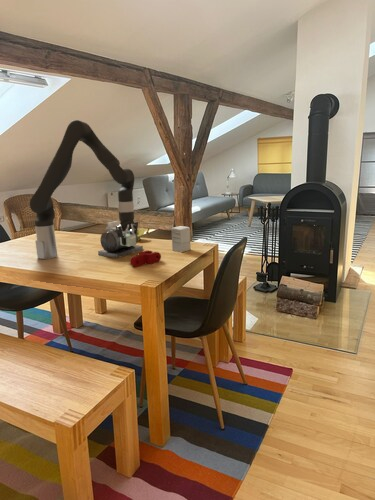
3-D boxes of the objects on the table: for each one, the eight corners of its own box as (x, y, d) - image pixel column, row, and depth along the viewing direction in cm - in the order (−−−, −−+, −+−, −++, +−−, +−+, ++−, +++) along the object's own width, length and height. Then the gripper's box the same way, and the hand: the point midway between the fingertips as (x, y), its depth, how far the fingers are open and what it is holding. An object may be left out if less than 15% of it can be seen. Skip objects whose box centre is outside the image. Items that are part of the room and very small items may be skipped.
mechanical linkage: (151, 258, 197) (150, 249, 195) (161, 261, 192) (160, 251, 191) (127, 266, 185) (126, 256, 184) (137, 269, 180) (136, 258, 179)
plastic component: (112, 240, 229) (110, 230, 236) (113, 249, 234) (112, 239, 241) (145, 235, 232) (142, 225, 240) (146, 244, 237) (143, 235, 244)
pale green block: (130, 246, 191) (129, 236, 189) (119, 244, 195) (118, 235, 194) (137, 244, 195) (136, 235, 193) (126, 242, 199) (125, 233, 198)
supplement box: (181, 247, 216) (180, 225, 213) (191, 249, 211) (190, 227, 208) (171, 250, 211) (170, 227, 208) (181, 252, 206) (180, 229, 203)
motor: (117, 258, 199) (114, 226, 195) (98, 254, 207) (95, 224, 203) (142, 249, 215) (141, 220, 211) (124, 246, 223) (122, 218, 219)
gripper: (130, 207, 198) (132, 240, 202) (110, 211, 187) (112, 245, 191) (141, 208, 194) (143, 241, 198) (121, 213, 183) (123, 247, 187)
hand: (128, 243), depth 195 cm, fingers closed on pale green block, 5 cm apart
